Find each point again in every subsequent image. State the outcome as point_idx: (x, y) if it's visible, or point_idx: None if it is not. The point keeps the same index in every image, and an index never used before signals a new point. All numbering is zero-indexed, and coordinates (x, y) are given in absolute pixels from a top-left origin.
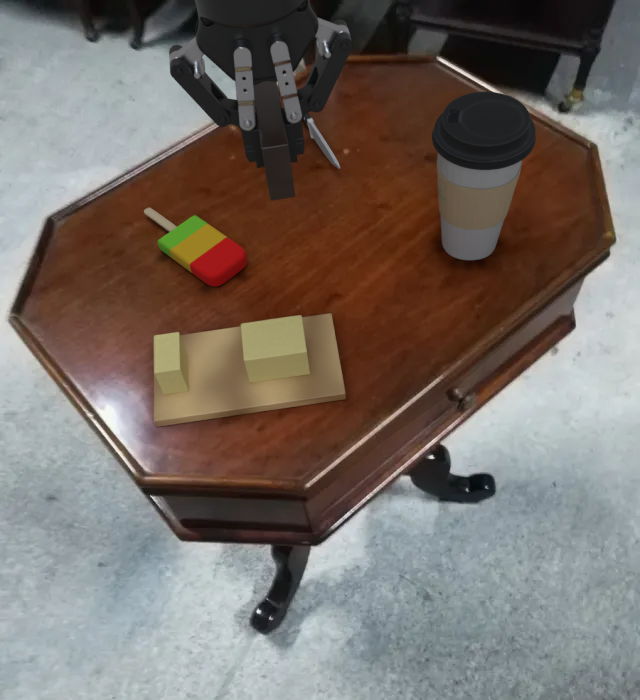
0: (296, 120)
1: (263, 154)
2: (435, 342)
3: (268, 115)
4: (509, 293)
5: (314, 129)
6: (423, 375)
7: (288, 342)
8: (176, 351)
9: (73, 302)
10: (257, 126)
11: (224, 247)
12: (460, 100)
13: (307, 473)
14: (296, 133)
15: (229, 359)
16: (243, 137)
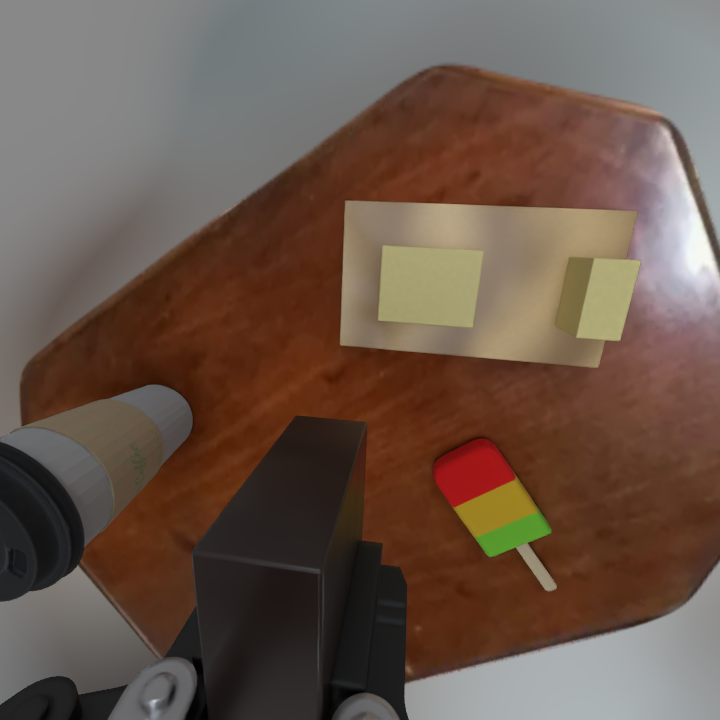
0: (165, 668)
1: (326, 543)
2: (221, 270)
3: None
4: (128, 324)
5: None
6: (243, 220)
7: (406, 271)
8: (590, 297)
9: (695, 472)
10: (332, 698)
11: (460, 491)
12: (7, 592)
13: (424, 77)
14: None
15: (494, 301)
16: (400, 665)
